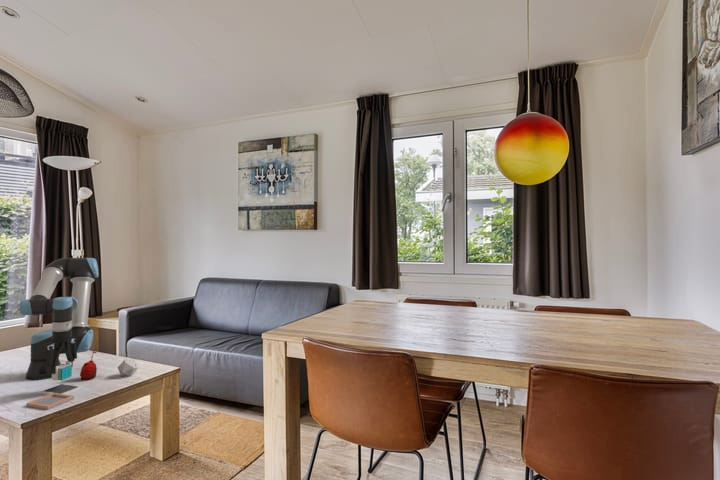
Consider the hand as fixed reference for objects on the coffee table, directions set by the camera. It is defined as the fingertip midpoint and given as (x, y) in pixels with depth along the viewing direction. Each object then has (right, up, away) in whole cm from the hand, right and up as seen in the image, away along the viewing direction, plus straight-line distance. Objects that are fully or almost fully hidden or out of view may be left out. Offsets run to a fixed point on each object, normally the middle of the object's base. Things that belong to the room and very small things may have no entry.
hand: (61, 377), depth 188 cm
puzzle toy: (0, 0, 0) cm, 1 cm away
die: (+18, -7, +23) cm, 30 cm away
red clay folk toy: (+1, -7, +17) cm, 18 cm away
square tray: (+5, -7, -13) cm, 16 cm away
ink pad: (0, -6, -1) cm, 6 cm away
